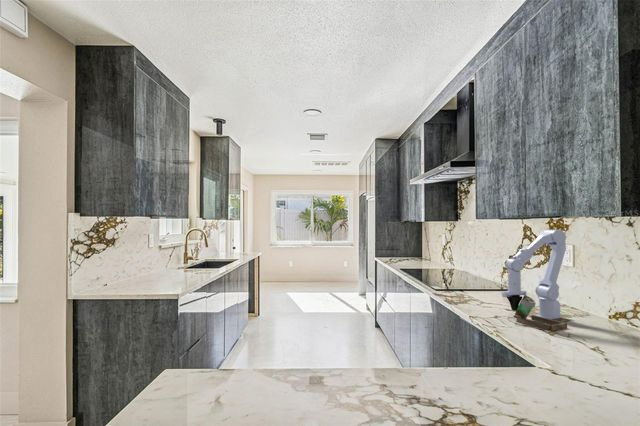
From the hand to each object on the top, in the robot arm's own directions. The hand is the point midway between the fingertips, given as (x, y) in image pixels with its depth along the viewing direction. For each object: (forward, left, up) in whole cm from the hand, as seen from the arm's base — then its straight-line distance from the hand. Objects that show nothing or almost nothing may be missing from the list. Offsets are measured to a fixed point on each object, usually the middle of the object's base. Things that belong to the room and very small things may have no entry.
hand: (514, 310), depth 189 cm
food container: (0, +4, -3) cm, 5 cm away
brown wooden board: (0, +14, -4) cm, 14 cm away
